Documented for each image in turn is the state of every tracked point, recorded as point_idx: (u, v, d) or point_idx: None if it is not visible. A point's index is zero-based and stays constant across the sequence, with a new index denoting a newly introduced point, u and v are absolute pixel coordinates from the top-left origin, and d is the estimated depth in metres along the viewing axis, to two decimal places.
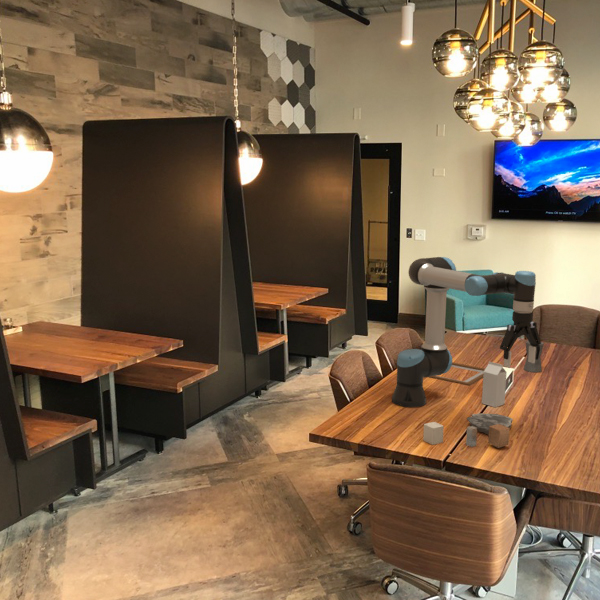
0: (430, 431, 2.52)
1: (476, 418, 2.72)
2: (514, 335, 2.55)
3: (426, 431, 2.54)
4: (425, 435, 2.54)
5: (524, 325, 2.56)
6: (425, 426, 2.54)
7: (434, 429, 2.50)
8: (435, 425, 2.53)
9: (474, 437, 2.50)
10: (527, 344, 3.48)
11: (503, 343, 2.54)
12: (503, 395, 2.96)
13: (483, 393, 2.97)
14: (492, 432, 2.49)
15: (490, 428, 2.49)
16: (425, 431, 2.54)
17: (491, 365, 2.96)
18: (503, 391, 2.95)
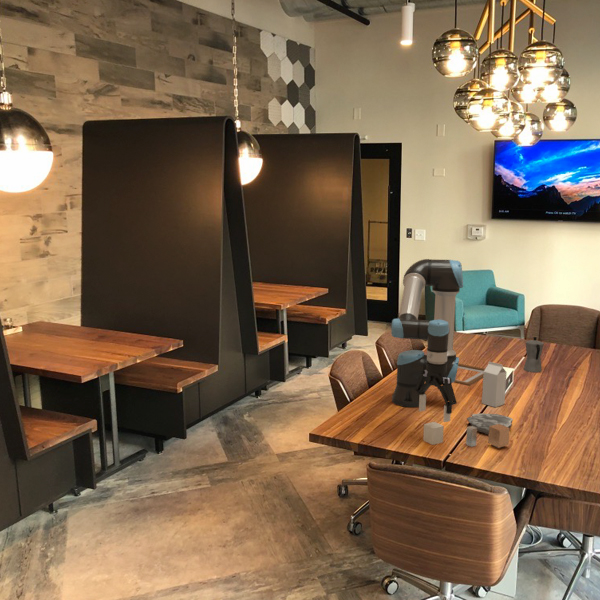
0: (430, 431, 2.52)
1: (476, 418, 2.72)
2: None
3: (426, 431, 2.54)
4: (425, 435, 2.54)
5: (434, 375, 2.49)
6: (425, 426, 2.54)
7: (434, 429, 2.50)
8: (435, 425, 2.53)
9: (474, 437, 2.50)
10: (527, 344, 3.48)
11: None
12: (503, 395, 2.96)
13: (483, 393, 2.97)
14: (492, 432, 2.49)
15: (490, 428, 2.49)
16: (425, 431, 2.54)
17: (491, 365, 2.96)
18: (503, 391, 2.95)
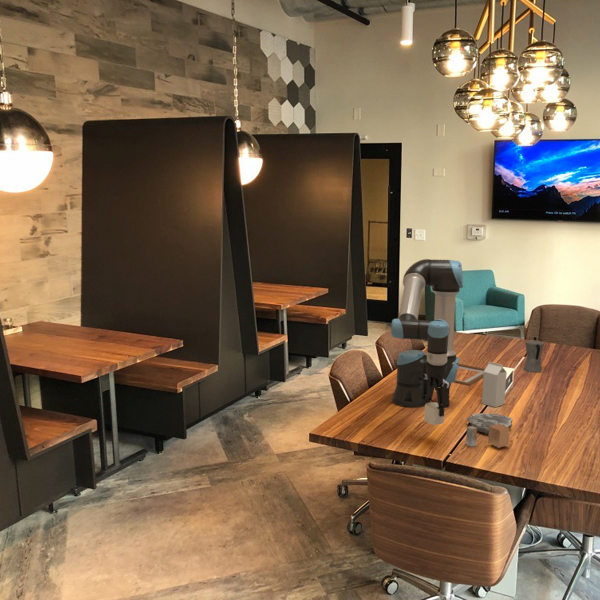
0: (431, 411, 2.51)
1: (476, 418, 2.72)
2: None
3: (427, 412, 2.53)
4: (426, 416, 2.53)
5: (434, 376, 2.49)
6: (426, 407, 2.53)
7: (435, 409, 2.49)
8: (436, 405, 2.52)
9: (474, 437, 2.50)
10: (527, 344, 3.48)
11: None
12: (503, 395, 2.96)
13: (483, 393, 2.97)
14: (492, 432, 2.49)
15: (490, 428, 2.49)
16: (426, 412, 2.53)
17: (491, 365, 2.96)
18: (503, 391, 2.95)
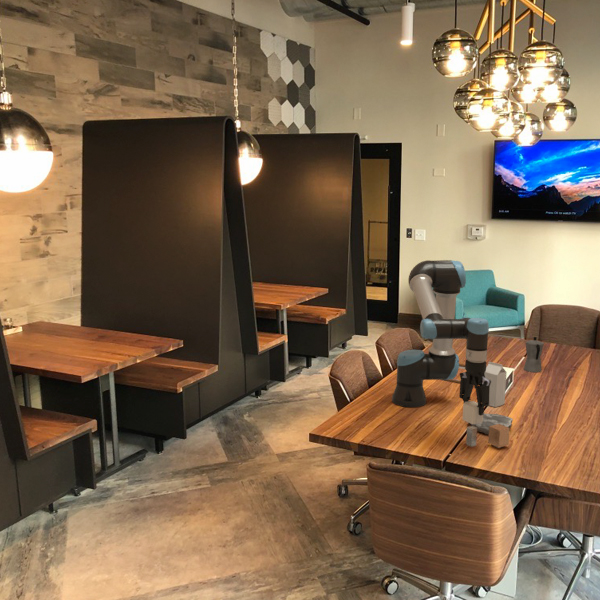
0: (470, 410, 2.46)
1: None
2: None
3: (465, 411, 2.48)
4: (464, 414, 2.49)
5: (473, 374, 2.46)
6: (465, 405, 2.48)
7: (474, 408, 2.45)
8: (475, 404, 2.48)
9: (474, 437, 2.50)
10: (527, 344, 3.48)
11: None
12: (503, 395, 2.96)
13: None
14: (492, 432, 2.49)
15: (490, 428, 2.49)
16: (464, 410, 2.49)
17: (491, 365, 2.96)
18: (503, 391, 2.95)
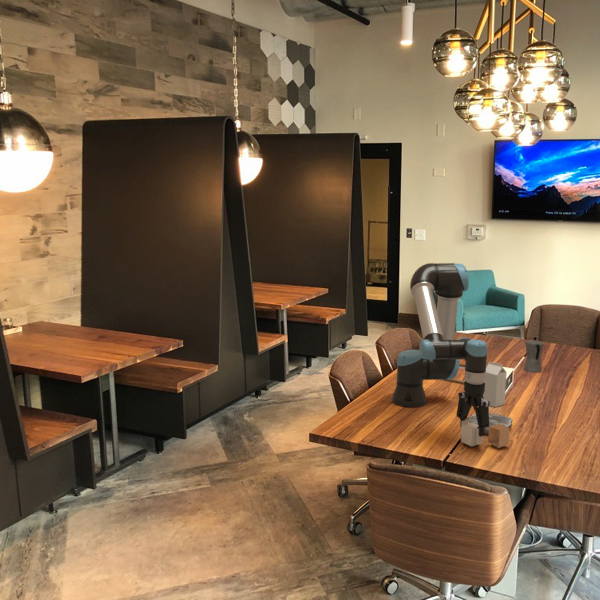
0: (468, 432, 2.48)
1: (476, 418, 2.72)
2: None
3: (464, 433, 2.50)
4: (463, 436, 2.51)
5: (472, 395, 2.47)
6: (463, 427, 2.50)
7: (473, 430, 2.47)
8: (473, 426, 2.50)
9: None
10: (527, 344, 3.48)
11: None
12: (503, 395, 2.96)
13: None
14: (492, 432, 2.49)
15: (490, 428, 2.49)
16: (463, 432, 2.50)
17: (491, 365, 2.96)
18: (503, 391, 2.95)
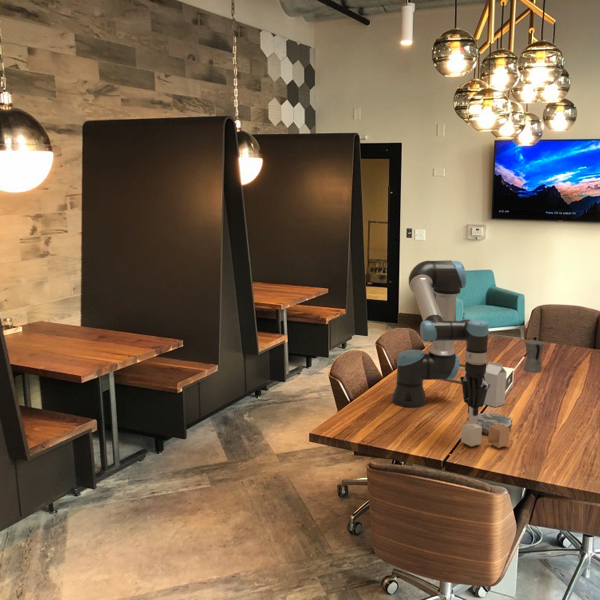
0: (468, 432, 2.48)
1: None
2: None
3: (464, 433, 2.50)
4: (463, 436, 2.51)
5: (473, 376, 2.46)
6: (463, 427, 2.50)
7: (473, 430, 2.47)
8: (473, 426, 2.50)
9: None
10: (527, 344, 3.48)
11: None
12: (503, 395, 2.96)
13: None
14: (492, 432, 2.49)
15: (490, 428, 2.49)
16: (463, 432, 2.50)
17: (491, 365, 2.96)
18: (503, 391, 2.95)
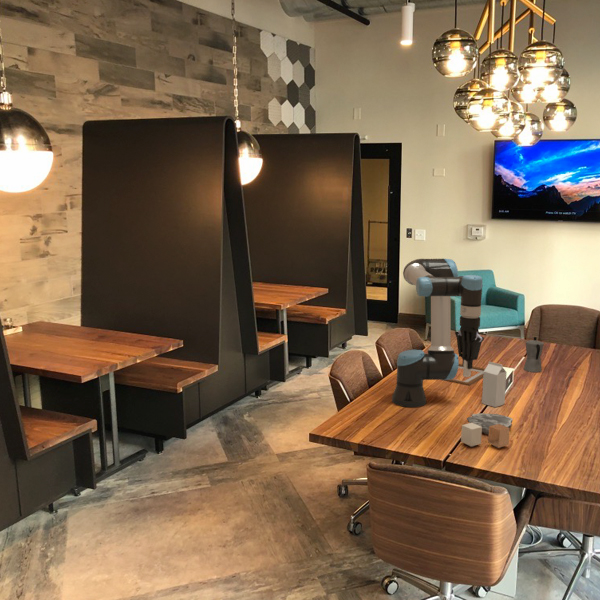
0: (468, 432, 2.48)
1: (476, 418, 2.72)
2: None
3: (464, 433, 2.50)
4: (463, 436, 2.51)
5: (467, 330, 2.52)
6: (463, 427, 2.50)
7: (473, 430, 2.47)
8: (473, 426, 2.50)
9: None
10: (527, 344, 3.48)
11: None
12: (503, 395, 2.96)
13: (483, 393, 2.97)
14: (492, 432, 2.49)
15: (490, 428, 2.49)
16: (463, 432, 2.50)
17: (491, 365, 2.96)
18: (503, 391, 2.95)
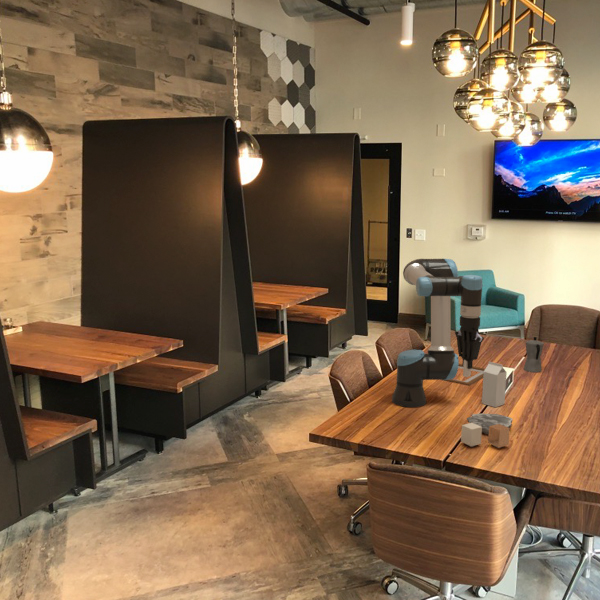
0: (468, 432, 2.48)
1: (476, 418, 2.72)
2: None
3: (464, 433, 2.50)
4: (463, 436, 2.51)
5: (467, 330, 2.52)
6: (463, 427, 2.50)
7: (473, 430, 2.47)
8: (473, 426, 2.50)
9: None
10: (527, 344, 3.48)
11: None
12: (503, 395, 2.96)
13: (483, 393, 2.97)
14: (492, 432, 2.49)
15: (490, 428, 2.49)
16: (463, 432, 2.50)
17: (491, 365, 2.96)
18: (503, 391, 2.95)
